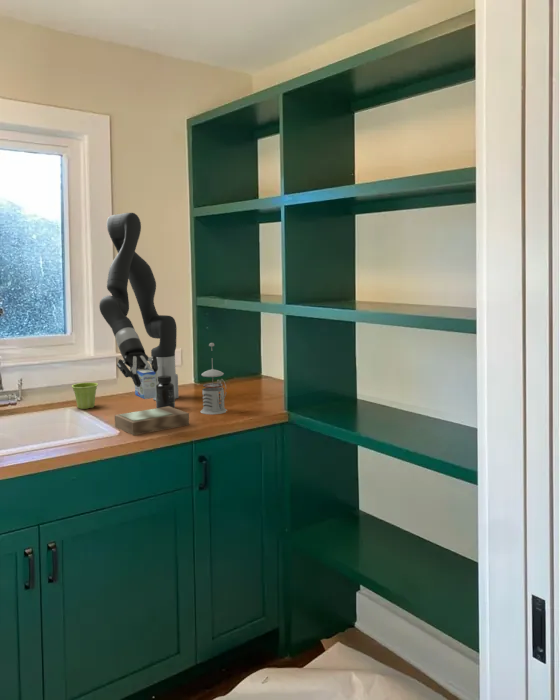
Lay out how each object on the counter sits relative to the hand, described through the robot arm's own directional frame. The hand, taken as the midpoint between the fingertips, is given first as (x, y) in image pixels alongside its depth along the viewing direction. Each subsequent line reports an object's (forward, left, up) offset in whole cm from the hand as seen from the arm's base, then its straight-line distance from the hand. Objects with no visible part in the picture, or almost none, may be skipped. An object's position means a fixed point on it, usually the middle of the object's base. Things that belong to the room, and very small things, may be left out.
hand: (146, 384), depth 213 cm
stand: (-2, -2, -15) cm, 15 cm away
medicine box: (0, -1, -4) cm, 5 cm away
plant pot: (+4, -45, -15) cm, 47 cm away
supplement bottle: (-18, -23, -15) cm, 33 cm away
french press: (-29, -6, -15) cm, 33 cm away
